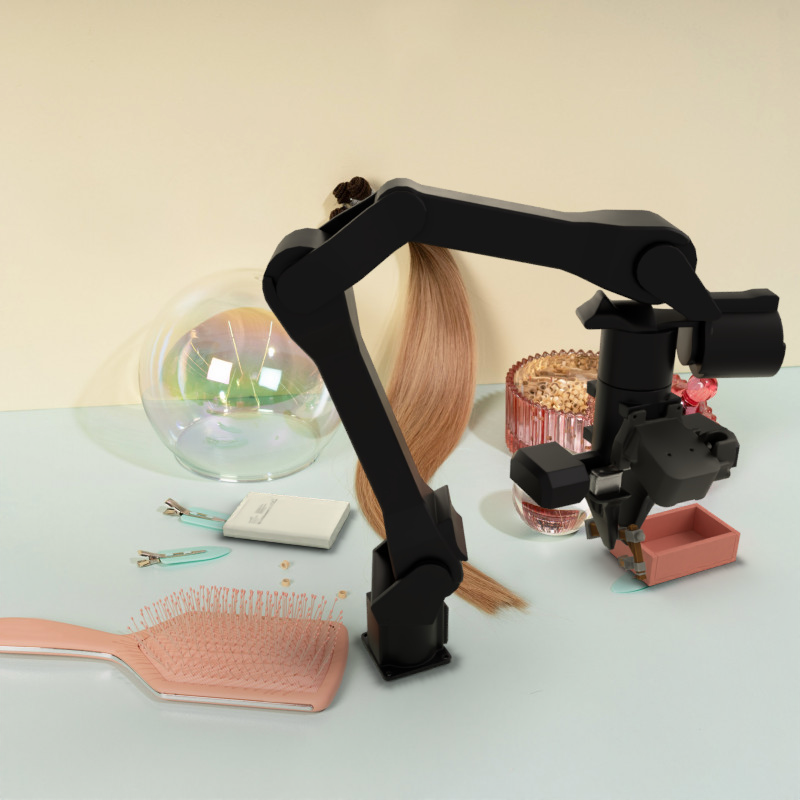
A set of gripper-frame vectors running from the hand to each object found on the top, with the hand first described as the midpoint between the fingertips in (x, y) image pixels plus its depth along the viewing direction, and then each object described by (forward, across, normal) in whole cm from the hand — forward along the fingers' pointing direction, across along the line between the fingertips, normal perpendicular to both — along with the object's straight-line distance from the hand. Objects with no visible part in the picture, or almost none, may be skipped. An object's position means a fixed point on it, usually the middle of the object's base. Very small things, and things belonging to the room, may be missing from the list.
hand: (616, 545), depth 72 cm
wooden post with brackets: (+2, 0, 0) cm, 2 cm away
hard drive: (+11, -22, +31) cm, 40 cm away
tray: (+11, +15, +10) cm, 21 cm away
